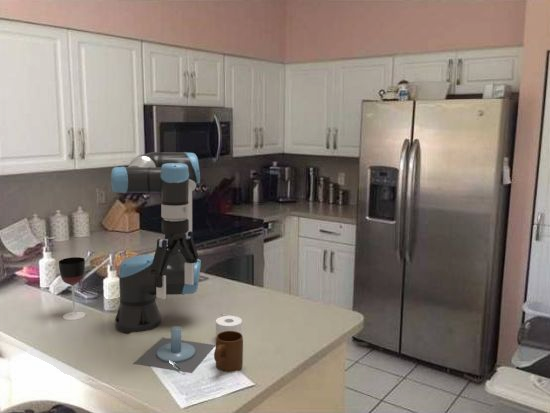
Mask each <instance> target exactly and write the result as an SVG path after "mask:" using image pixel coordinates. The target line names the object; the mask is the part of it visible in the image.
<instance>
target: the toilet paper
mask: <svg viewBox="0 0 550 413" xmlns="http://www.w3.org/2000/svg"><path fill="white" fill-rule="evenodd" d="M220 315H221V316H219V317H218V318H216V320H215V338H216V337H217V335H218V334H219V333H221V332H224V331H236V332H239V333H241V334H242V335H243V333H242V332H243V319H242V318H240V317H239V316H236V315H230V314H229V315H228V314H224V313H221V314H220Z"/></svg>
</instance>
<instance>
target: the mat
mask: <svg viewBox="0 0 550 413" xmlns="http://www.w3.org/2000/svg"><path fill="white" fill-rule="evenodd" d="M169 343H171V337H169V338H168V337H161V338H160V339H159V340H158V341H157V342H156V343H154V344H153V345H152V346H151V347H150V348H148V350H146V351H145V352H144V353H143V354H142V355H141V356H139V358H137V359H136V360H135V361H134V362H133V363H132V365H140V366H145V367H152V368H158V369H163V370H170V371H176V372H183V373H188V374H192V373H193V372H194V371H196V369H197V367H199V366H200V364H201V363H202V362H203V361H204V359H206V358H207V356H209V354H210V353H211V351H212V350H213V349H214V348H216V344H209V343H203V342H195V341H191V340H182V339H181V343H187V344H190V345H192V346H193V347H194V348H195V355H194V356H193V357H192V358H191V359H189V360H187V361H184V362H178V363H176V364H177V365H178V367H179V368H180V369H176V368H174V367H173V365H172V364H170V363H168V362H164V361H161V360H160V359H159V358H158V357H157V350H158V349H159V348H160V347H161V346H163V345H166V344H169Z"/></svg>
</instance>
